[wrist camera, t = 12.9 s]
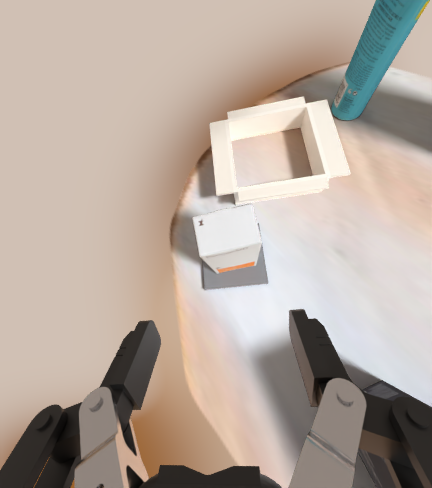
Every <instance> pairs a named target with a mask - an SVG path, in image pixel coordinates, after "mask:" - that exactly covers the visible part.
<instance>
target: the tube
mask: <svg viewBox="0 0 432 488" xmlns="http://www.w3.org/2000/svg"><path fill="white" fill-rule="evenodd" d="M429 1H430V0H376V2H375V4H374V6H373V9H372V11H371V14H370V16H369V19H368V21H367V23H366V26H365V28H364V31H363V33H362V35H361V38H360V40H359V43H358V45H357V47H356V50H355V52H354V55H353V57H352V60H351V62H350V64H349V66H348V69H347V71H346V73H345V76H344V78H343V81H342V83H341V85H340V88H339V90H338V92H337V95H336V97H335V100H334V102H333V104H332V108H331V110H332V113H333V115H334V116H335V117H337V118H338V119H341V120H353V119H355V118H357V117H359V116H360V115H361V113H362V112H363V110H364V108H365V107H366V105H367V103H368V102H369V100H370V98H371V97H372V95H373V93H374V91H375V90H376V88H377V86H378V85H379V83H380V81H381V80H382V78H383V76H384V75H385V73H386V71H387V70H388V68H389V66H390V65H391V63H392V61H393V60H394V58H395V56H396V55H397V53H398V51H399V50H400V48H401V46H402V44H403V43H404V41H405V40H406V38H407V37H408V35H409V33H410V32H411V30H412V28H413V27H414V25H415V23H416V22H417V20H418V19H419V17H420V15H421V14H422V12H423V11H424V9H425V7H426V6H427V4H428V3H429Z"/></svg>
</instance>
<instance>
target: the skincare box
mask: <svg viewBox="0 0 432 488" xmlns="http://www.w3.org/2000/svg"><path fill="white" fill-rule="evenodd" d="M192 221H193V226H194V231H195V236H196V242H197V247H198V252H199V256H200V257H201V258H202V259H203V260H204V261H205V262H206V263H207V264H208V265H209V266H210V267H211V268H212V269H213V270H214V271H215V272H216V273H217V274H219V273H222V272H227V271H231V270H236V269H241V268H246V267H251V266H256V264H257V260H258V256H259V252H260V248H261V244H262V240H261V236H260V232H259V227H258V223H257V219H256V215H255V211H254V208H253V204H246V205H241V206H237V207H233V208H226V209H221V210H217V211H215V212H211V213H207V214H203V215H199V216H195V217H192Z"/></svg>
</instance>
